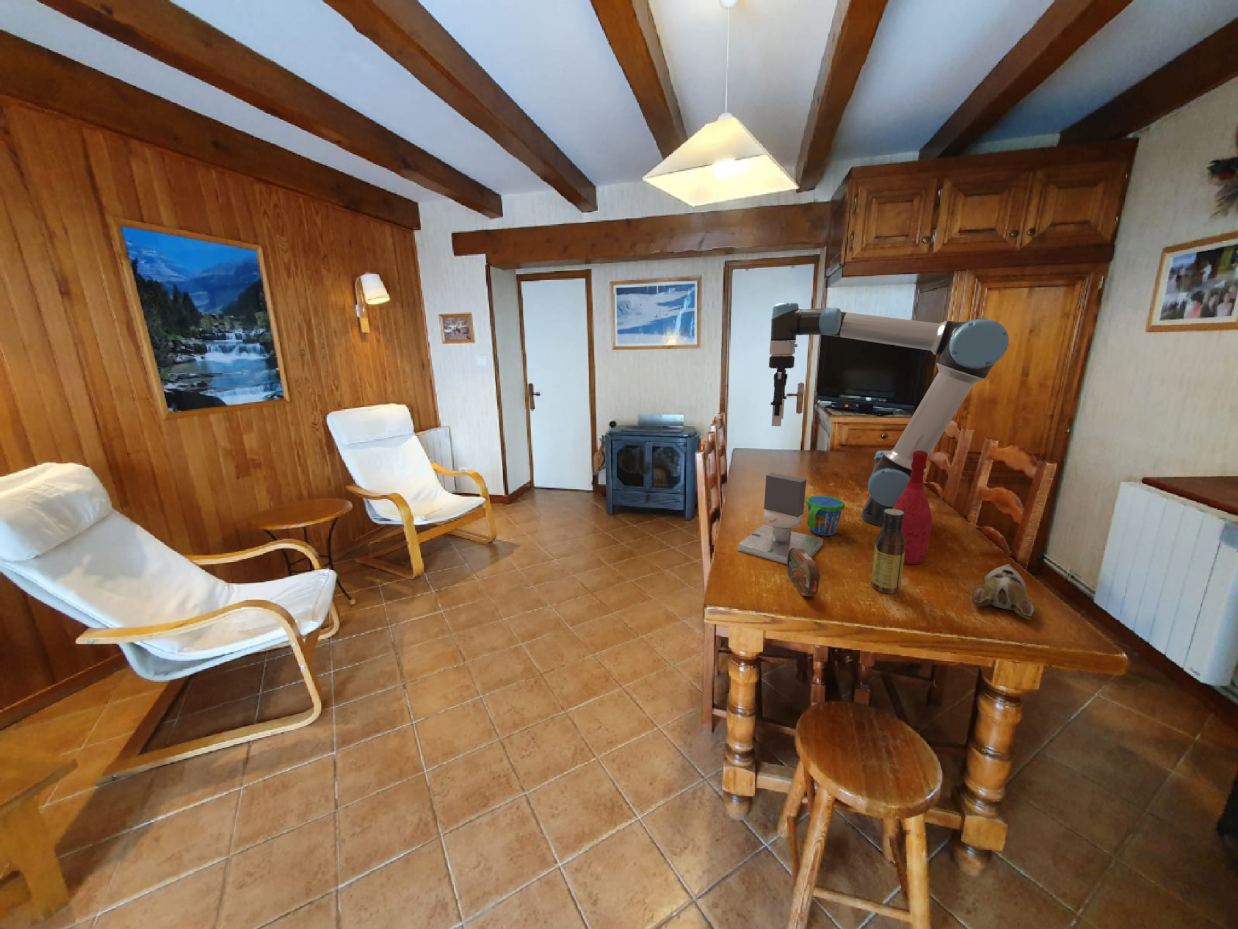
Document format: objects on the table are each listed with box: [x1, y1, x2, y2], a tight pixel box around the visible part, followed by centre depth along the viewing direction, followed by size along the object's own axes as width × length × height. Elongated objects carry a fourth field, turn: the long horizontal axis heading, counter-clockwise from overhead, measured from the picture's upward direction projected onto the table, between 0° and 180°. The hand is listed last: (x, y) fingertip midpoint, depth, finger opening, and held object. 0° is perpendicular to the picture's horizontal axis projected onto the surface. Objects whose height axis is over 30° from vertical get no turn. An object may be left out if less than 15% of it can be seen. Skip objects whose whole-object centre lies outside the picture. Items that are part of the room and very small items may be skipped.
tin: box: [786, 548, 821, 597], centre depth 113 cm, size 15×3×8 cm, turn 178°
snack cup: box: [805, 495, 846, 537], centre depth 144 cm, size 16×10×10 cm
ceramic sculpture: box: [971, 563, 1036, 620], centre depth 103 cm, size 11×9×15 cm
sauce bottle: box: [870, 509, 906, 594], centre depth 110 cm, size 6×6×20 cm
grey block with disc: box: [763, 472, 807, 529], centre depth 130 cm, size 12×10×13 cm
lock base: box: [737, 524, 824, 565], centre depth 134 cm, size 18×18×8 cm
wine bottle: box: [892, 451, 933, 565], centre depth 123 cm, size 10×10×30 cm
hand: (777, 422), depth 151 cm, fingers open, 13 cm apart
